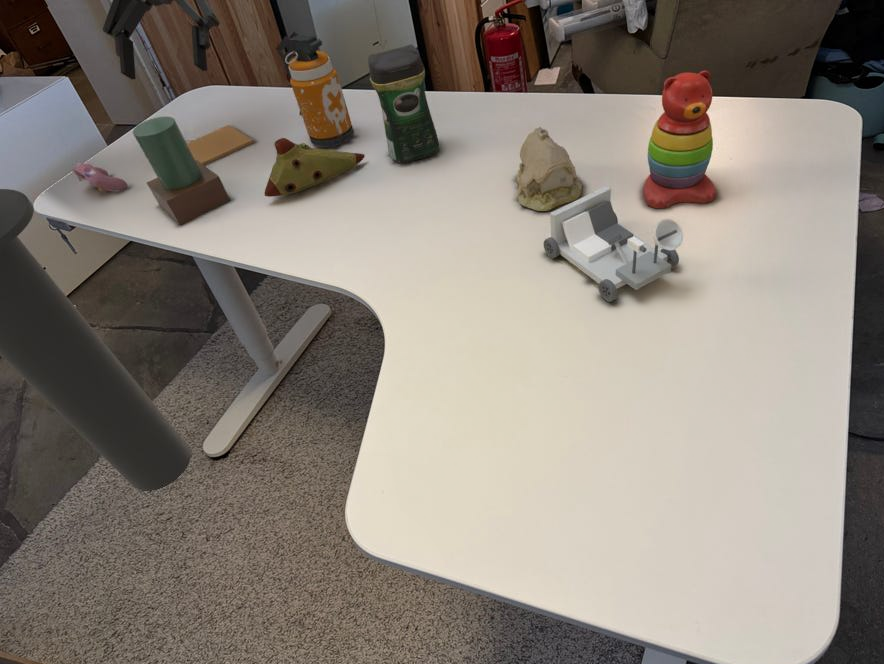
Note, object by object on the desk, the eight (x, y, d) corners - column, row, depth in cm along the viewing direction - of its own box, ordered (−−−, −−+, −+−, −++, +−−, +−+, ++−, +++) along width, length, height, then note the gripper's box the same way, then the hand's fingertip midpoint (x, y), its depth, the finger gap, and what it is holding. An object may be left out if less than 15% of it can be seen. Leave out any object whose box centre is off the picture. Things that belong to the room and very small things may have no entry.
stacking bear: (648, 210, 93) (658, 95, 80) (634, 176, 100) (642, 66, 87) (719, 202, 92) (741, 84, 80) (701, 168, 99) (718, 56, 87)
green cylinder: (156, 181, 109) (126, 128, 102) (192, 165, 112) (165, 112, 105) (171, 194, 105) (140, 140, 98) (207, 177, 108) (180, 123, 101)
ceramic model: (593, 200, 97) (594, 142, 90) (526, 217, 96) (522, 159, 89) (563, 160, 107) (562, 104, 99) (502, 175, 106) (496, 120, 98)
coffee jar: (433, 137, 119) (414, 36, 105) (444, 154, 113) (425, 50, 100) (385, 150, 117) (360, 49, 104) (394, 168, 112) (369, 65, 99)
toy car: (702, 217, 74) (630, 255, 71) (692, 279, 81) (626, 316, 78) (606, 163, 85) (540, 194, 82) (604, 222, 93) (543, 252, 89)
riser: (159, 206, 113) (146, 182, 110) (208, 183, 117) (196, 159, 114) (180, 225, 108) (166, 200, 104) (230, 200, 111) (218, 176, 108)
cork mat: (179, 149, 129) (177, 146, 129) (229, 127, 134) (228, 124, 134) (201, 166, 123) (200, 163, 122) (253, 142, 127) (252, 139, 127)
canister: (334, 153, 119) (300, 46, 105) (295, 144, 124) (257, 41, 110) (363, 132, 124) (334, 27, 110) (324, 124, 129) (291, 23, 114)
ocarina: (360, 157, 117) (345, 106, 109) (373, 167, 113) (359, 115, 106) (263, 199, 110) (241, 148, 103) (274, 210, 107) (252, 159, 100)
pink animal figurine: (95, 190, 124) (62, 170, 118) (108, 172, 125) (75, 151, 119) (117, 203, 119) (83, 182, 113) (130, 184, 120) (97, 162, 114)
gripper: (235, -49, 106) (242, 73, 107) (106, -31, 109) (114, 88, 110) (210, -78, 99) (219, 53, 100) (73, -57, 102) (82, 70, 103)
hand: (164, 72), depth 105 cm, fingers open, 13 cm apart
